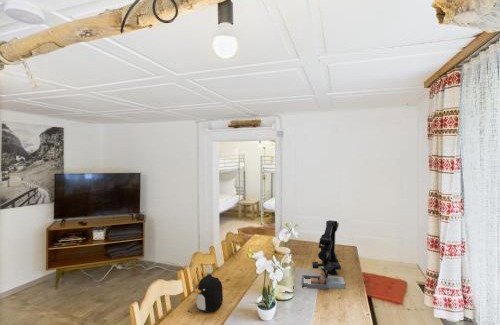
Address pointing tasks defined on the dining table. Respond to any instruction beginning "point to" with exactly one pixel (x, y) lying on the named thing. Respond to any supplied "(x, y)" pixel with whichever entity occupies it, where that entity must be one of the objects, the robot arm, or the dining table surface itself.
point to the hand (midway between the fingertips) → (326, 277)
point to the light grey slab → (335, 282)
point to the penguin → (209, 293)
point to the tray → (318, 286)
